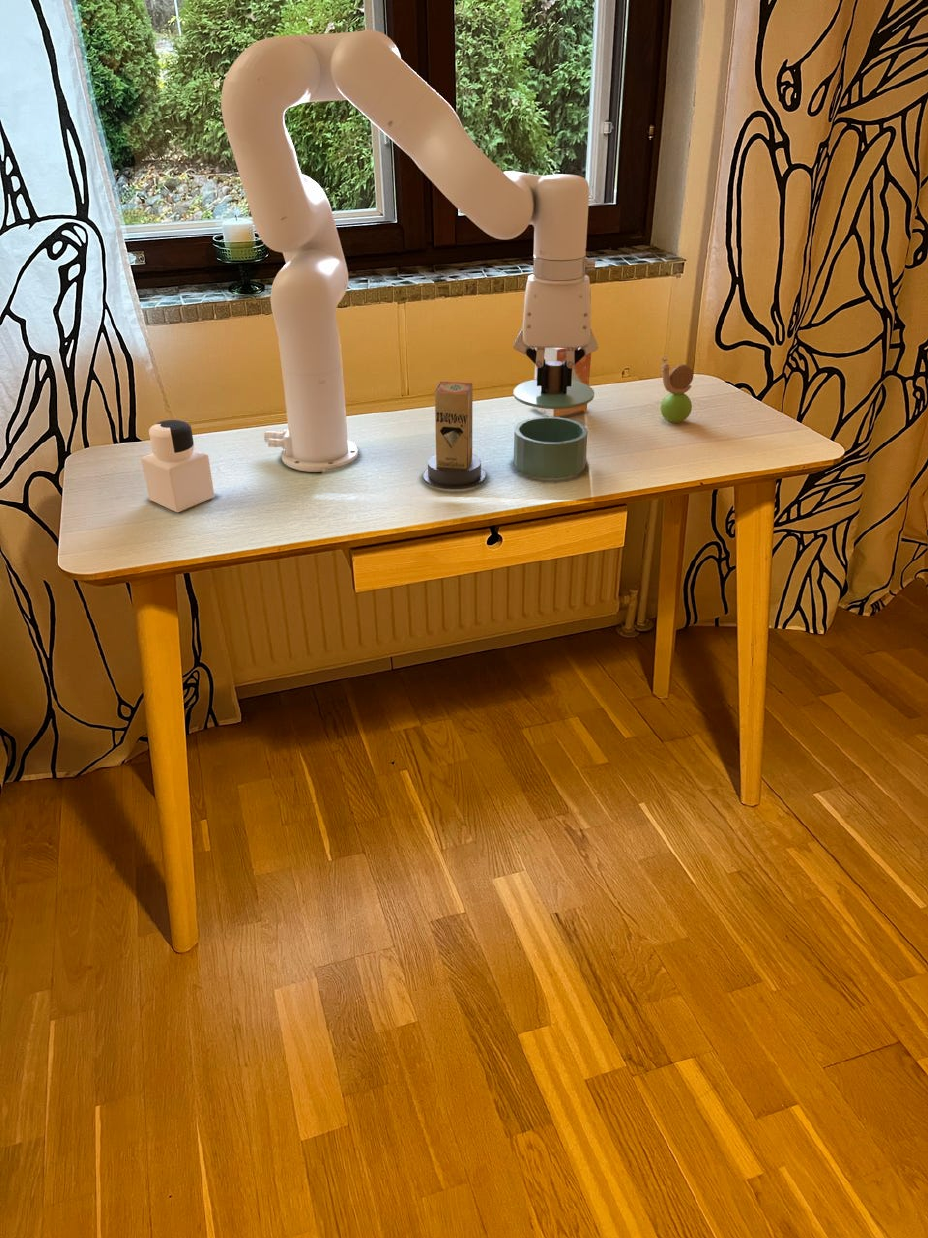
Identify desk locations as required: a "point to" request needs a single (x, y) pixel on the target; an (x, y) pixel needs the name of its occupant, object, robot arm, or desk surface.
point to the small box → (578, 374)
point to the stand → (454, 475)
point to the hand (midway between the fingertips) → (553, 389)
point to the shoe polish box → (453, 425)
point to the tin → (550, 447)
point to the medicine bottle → (176, 467)
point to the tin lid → (553, 391)
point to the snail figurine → (676, 392)
